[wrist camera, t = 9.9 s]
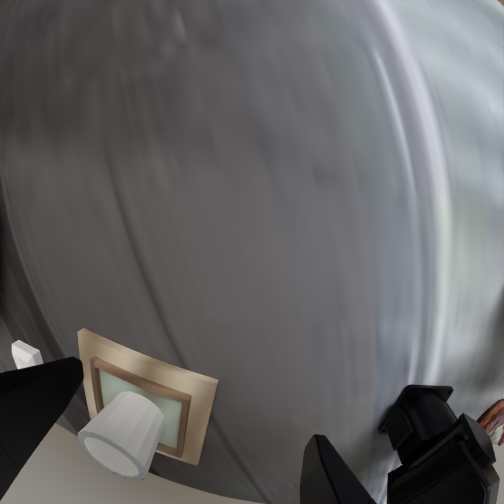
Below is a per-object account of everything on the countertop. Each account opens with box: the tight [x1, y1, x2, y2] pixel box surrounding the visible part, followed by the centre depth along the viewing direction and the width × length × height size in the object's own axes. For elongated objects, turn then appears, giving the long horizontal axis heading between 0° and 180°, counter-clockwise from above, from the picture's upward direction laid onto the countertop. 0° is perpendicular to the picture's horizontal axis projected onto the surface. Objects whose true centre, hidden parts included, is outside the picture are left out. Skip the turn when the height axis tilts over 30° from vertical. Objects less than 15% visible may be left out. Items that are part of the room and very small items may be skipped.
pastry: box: [477, 399, 504, 446], centre depth 18 cm, size 8×8×5 cm
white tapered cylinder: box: [78, 392, 165, 480], centre depth 19 cm, size 7×7×7 cm
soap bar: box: [12, 340, 43, 369], centre depth 25 cm, size 5×9×3 cm, turn 175°
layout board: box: [78, 328, 219, 466], centre depth 23 cm, size 14×14×2 cm
